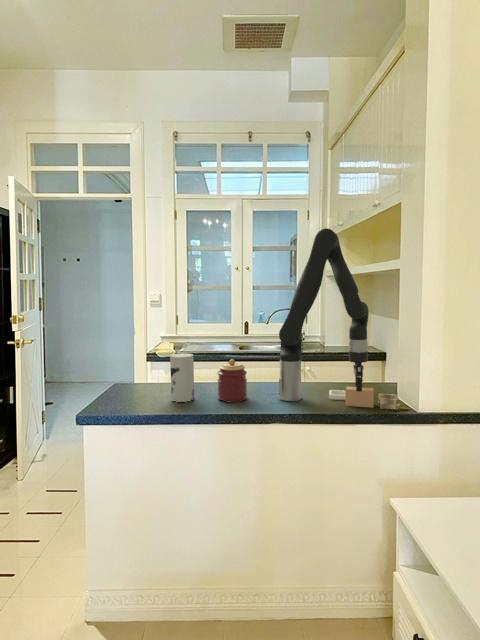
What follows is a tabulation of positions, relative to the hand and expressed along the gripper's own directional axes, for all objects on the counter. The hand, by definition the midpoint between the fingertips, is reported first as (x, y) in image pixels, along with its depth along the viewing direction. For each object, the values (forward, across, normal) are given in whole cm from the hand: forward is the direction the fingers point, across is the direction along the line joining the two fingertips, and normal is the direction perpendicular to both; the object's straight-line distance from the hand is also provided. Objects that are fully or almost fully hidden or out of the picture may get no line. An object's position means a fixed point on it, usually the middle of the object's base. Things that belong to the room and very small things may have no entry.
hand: (358, 388), depth 178 cm
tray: (+7, -10, -5) cm, 13 cm away
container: (+5, +7, -75) cm, 75 cm away
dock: (+7, 0, +12) cm, 14 cm away
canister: (+6, +1, -54) cm, 54 cm away
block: (+7, +1, 0) cm, 7 cm away
